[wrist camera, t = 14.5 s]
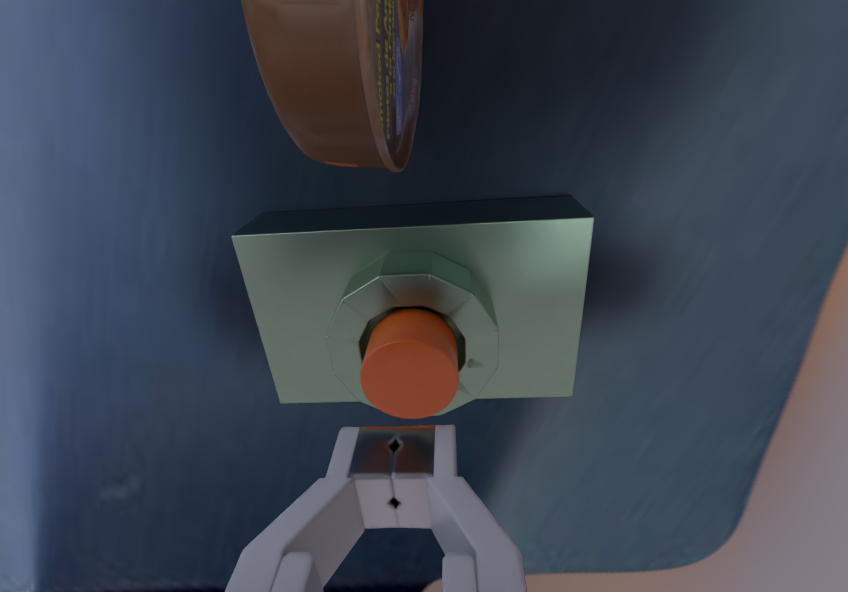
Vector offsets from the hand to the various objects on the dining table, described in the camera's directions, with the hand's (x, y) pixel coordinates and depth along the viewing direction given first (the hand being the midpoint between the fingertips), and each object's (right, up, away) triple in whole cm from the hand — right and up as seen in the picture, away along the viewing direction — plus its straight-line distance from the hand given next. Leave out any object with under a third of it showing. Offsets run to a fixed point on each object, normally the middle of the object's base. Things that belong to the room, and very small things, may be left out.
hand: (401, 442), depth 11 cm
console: (0, +4, +8) cm, 9 cm away
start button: (0, +2, +4) cm, 5 cm away
